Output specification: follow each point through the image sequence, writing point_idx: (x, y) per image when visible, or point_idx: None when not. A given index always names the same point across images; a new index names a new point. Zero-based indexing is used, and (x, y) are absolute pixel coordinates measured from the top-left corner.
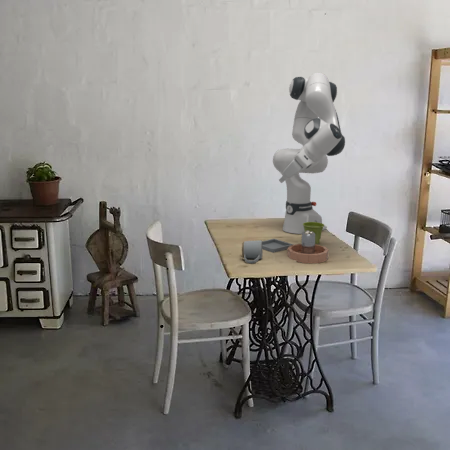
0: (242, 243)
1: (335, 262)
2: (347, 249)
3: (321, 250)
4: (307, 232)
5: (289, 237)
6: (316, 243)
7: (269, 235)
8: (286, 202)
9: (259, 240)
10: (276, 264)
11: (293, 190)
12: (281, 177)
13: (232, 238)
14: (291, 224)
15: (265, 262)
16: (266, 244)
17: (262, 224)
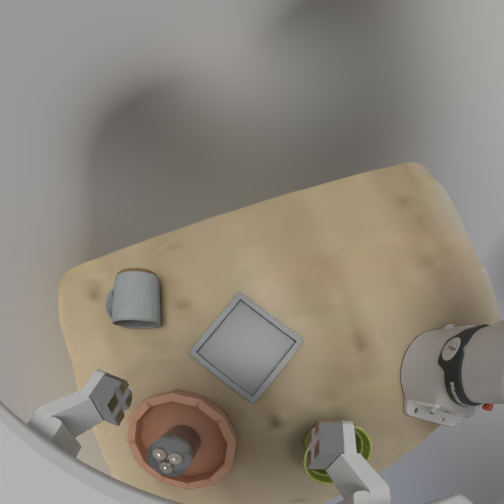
0: (125, 269)
1: (163, 489)
2: None
3: (212, 472)
4: (154, 457)
5: (366, 369)
6: (308, 452)
7: (370, 312)
8: (472, 330)
9: (128, 312)
10: (113, 364)
11: (494, 354)
12: (81, 391)
13: (311, 225)
14: (419, 360)
15: (122, 338)
16: (266, 324)
17: (448, 271)
